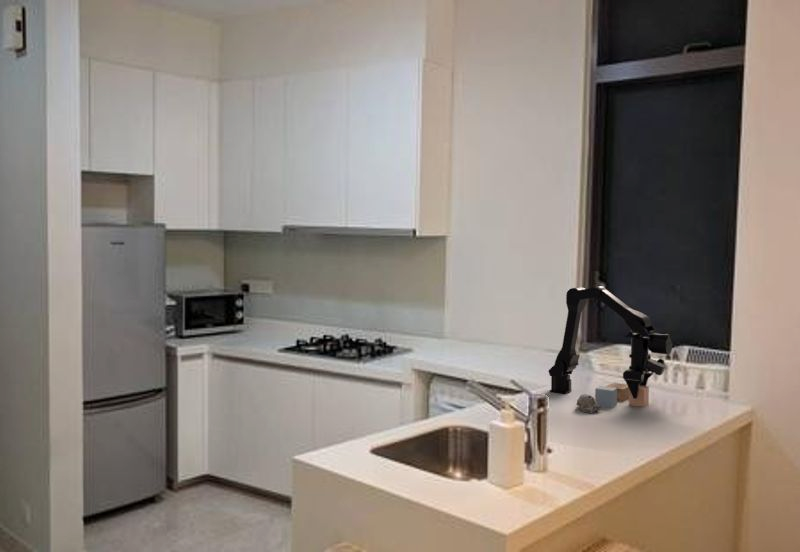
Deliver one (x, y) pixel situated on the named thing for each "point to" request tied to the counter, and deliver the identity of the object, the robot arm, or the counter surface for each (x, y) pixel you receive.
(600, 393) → the light blue block
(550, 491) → the counter surface
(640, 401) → the terracotta clay cube
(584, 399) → the mineral specimen
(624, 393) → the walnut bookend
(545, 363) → the counter surface
